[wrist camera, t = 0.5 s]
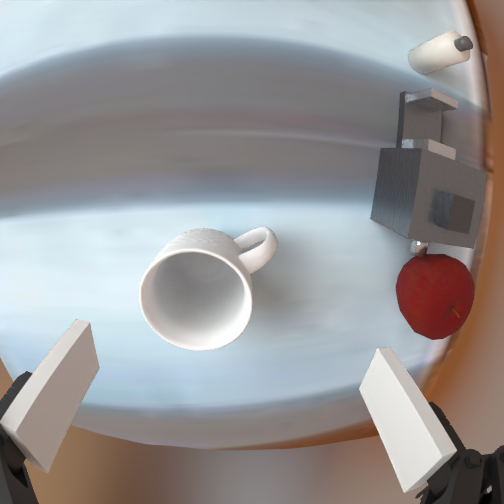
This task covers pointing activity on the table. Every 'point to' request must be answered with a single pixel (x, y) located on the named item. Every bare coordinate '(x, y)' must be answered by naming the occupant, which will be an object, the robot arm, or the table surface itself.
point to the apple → (435, 294)
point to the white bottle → (440, 52)
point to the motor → (427, 179)
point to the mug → (204, 287)
